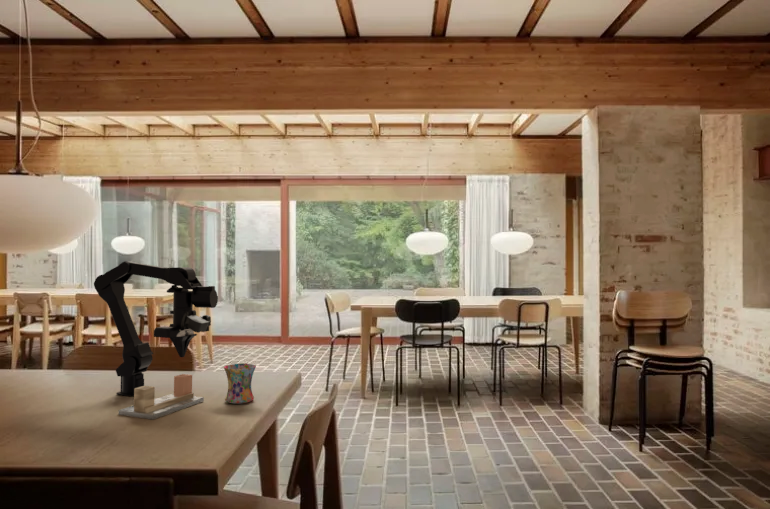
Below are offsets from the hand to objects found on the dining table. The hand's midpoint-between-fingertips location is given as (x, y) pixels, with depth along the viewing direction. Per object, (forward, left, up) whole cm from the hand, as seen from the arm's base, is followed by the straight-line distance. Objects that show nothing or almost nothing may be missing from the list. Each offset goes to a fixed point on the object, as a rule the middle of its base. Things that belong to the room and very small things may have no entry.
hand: (182, 357), depth 165 cm
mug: (+20, +2, -12) cm, 24 cm away
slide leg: (+5, -5, -10) cm, 13 cm away
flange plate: (+5, -13, -12) cm, 18 cm away
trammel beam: (+6, -13, -11) cm, 18 cm away
